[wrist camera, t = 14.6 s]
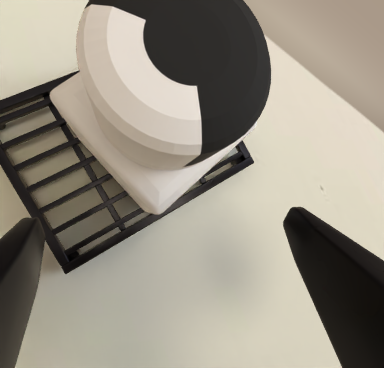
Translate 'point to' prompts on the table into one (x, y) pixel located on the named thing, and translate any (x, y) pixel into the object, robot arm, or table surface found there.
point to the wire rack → (73, 255)
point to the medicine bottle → (165, 90)
